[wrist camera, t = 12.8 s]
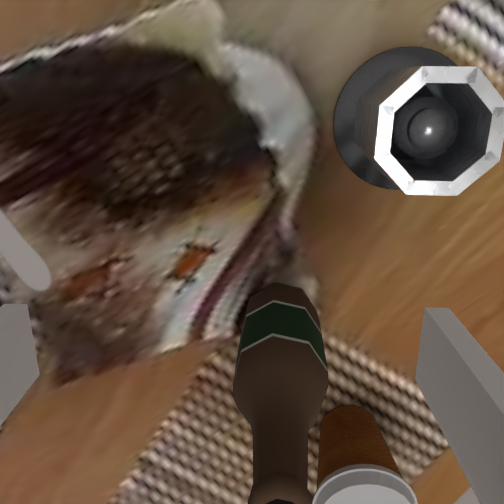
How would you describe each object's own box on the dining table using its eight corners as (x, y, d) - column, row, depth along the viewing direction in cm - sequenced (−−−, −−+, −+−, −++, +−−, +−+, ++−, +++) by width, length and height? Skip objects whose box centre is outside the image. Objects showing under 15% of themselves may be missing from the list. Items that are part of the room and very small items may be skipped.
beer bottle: (236, 285, 48) (197, 467, 25) (312, 275, 47) (343, 453, 24) (249, 351, 50) (225, 570, 28) (322, 342, 49) (358, 561, 27)
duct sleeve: (358, 70, 40) (383, 65, 30) (460, 71, 39) (517, 66, 30) (350, 169, 42) (370, 193, 33) (445, 171, 42) (492, 196, 33)
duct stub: (307, 144, 42) (314, 158, 34) (386, 18, 39) (415, 0, 31) (415, 211, 44) (445, 240, 36) (501, 96, 40) (557, 99, 32)
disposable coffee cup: (380, 384, 51) (410, 470, 39) (398, 452, 54) (430, 550, 42) (295, 403, 52) (300, 491, 41) (317, 468, 55) (327, 567, 44)
